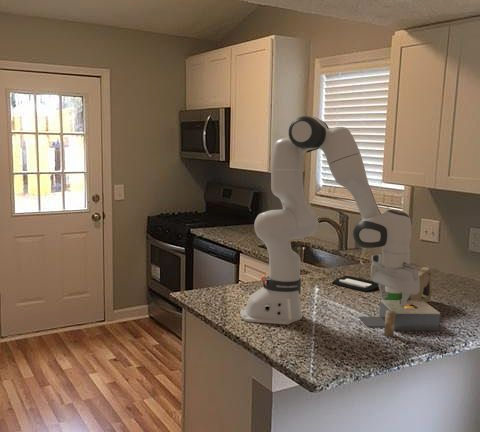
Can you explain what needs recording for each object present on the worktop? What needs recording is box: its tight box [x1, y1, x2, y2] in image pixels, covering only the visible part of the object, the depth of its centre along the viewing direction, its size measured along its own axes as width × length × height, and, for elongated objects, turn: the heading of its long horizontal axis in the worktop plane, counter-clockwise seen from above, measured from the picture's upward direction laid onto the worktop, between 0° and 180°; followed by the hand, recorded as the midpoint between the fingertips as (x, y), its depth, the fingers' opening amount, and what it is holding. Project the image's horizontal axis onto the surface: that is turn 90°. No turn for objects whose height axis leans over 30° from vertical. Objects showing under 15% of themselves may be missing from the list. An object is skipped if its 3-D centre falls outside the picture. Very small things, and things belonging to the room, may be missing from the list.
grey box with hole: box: [378, 299, 441, 332], centre depth 185 cm, size 16×14×6 cm
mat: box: [358, 315, 385, 328], centre depth 185 cm, size 8×10×1 cm
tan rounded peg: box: [383, 310, 395, 338], centre depth 173 cm, size 3×3×8 cm
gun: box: [408, 266, 433, 303], centre depth 204 cm, size 24×3×15 cm, turn 141°
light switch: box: [331, 275, 379, 294], centre depth 233 cm, size 20×3×14 cm
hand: (393, 301), depth 172 cm, fingers open, 8 cm apart
